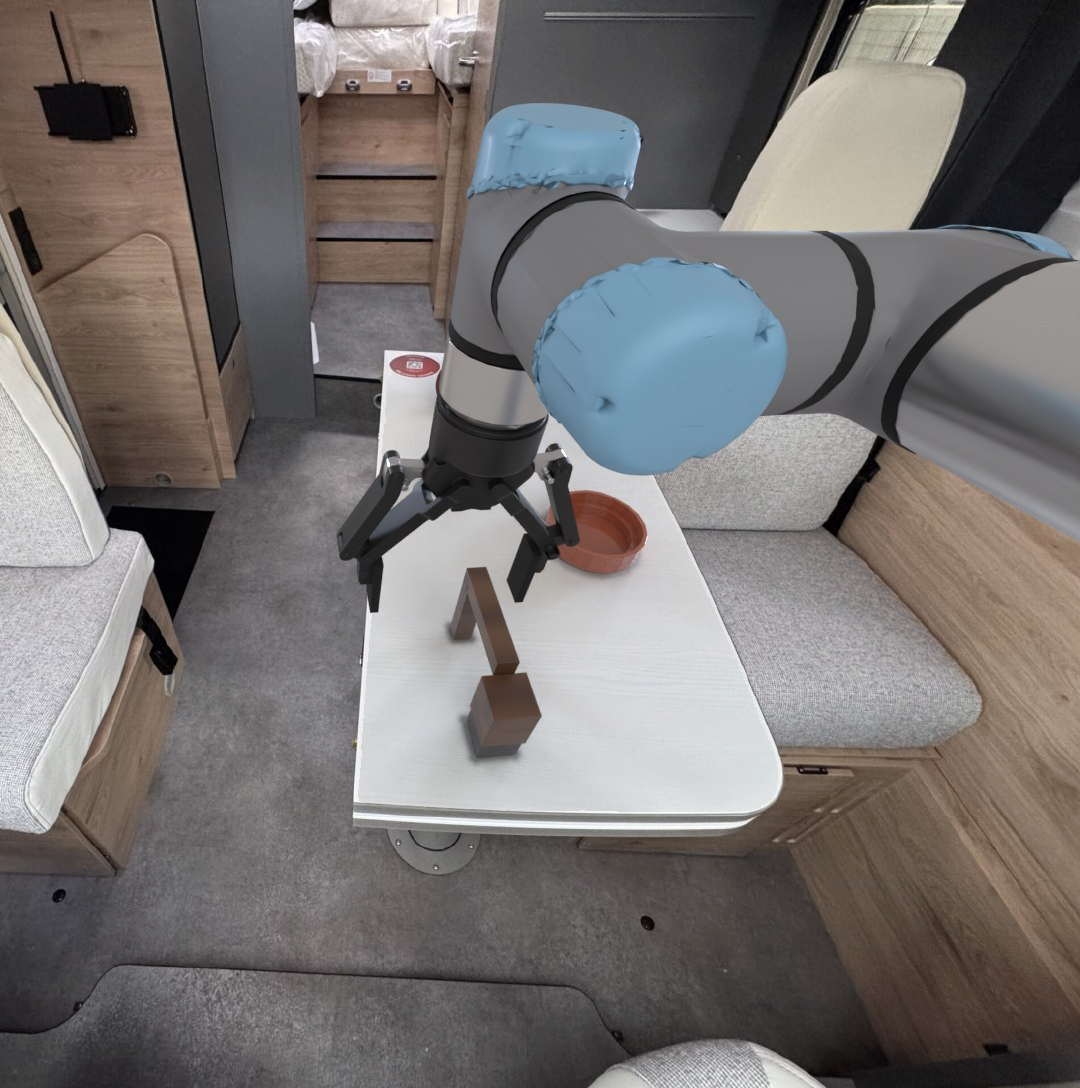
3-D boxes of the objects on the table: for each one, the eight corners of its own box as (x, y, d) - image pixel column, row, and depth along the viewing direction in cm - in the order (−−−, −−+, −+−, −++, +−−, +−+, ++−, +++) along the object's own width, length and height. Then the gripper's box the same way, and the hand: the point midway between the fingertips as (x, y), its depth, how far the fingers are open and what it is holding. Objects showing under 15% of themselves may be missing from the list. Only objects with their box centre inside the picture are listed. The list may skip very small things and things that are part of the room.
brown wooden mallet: (440, 627, 76) (456, 568, 67) (476, 625, 77) (497, 565, 68) (474, 760, 64) (499, 709, 55) (517, 756, 65) (548, 705, 56)
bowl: (652, 572, 85) (664, 554, 82) (561, 578, 83) (569, 560, 80) (612, 506, 94) (622, 488, 91) (529, 510, 93) (536, 492, 90)
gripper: (644, 365, 42) (557, 557, 57) (301, 373, 39) (307, 573, 55) (698, 426, 37) (586, 619, 52) (308, 440, 34) (313, 639, 50)
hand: (444, 596), depth 54 cm, fingers open, 13 cm apart
